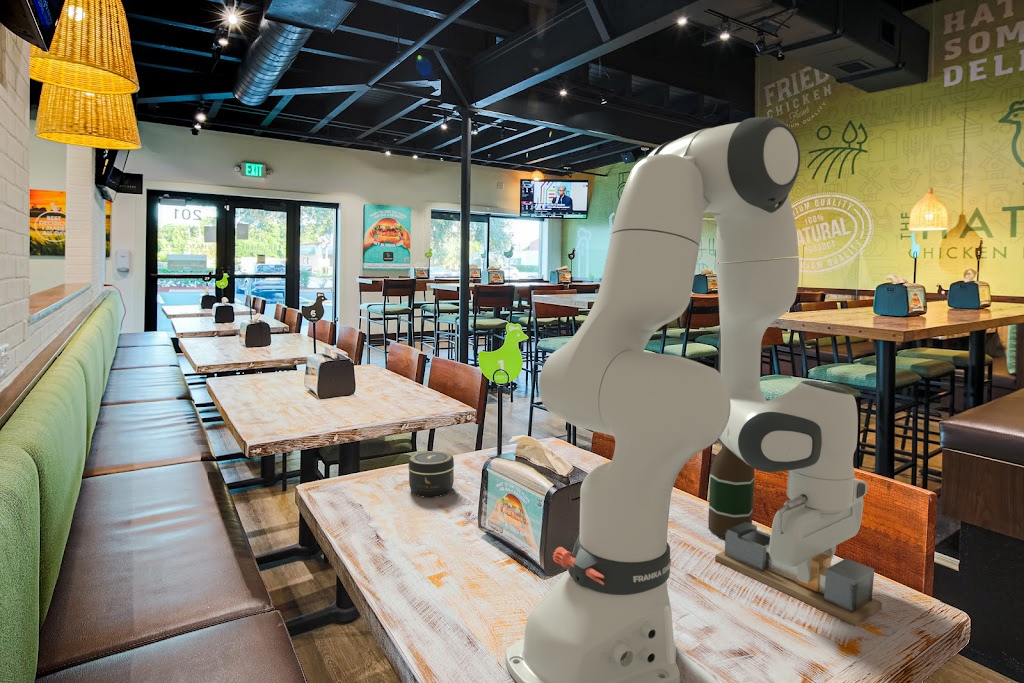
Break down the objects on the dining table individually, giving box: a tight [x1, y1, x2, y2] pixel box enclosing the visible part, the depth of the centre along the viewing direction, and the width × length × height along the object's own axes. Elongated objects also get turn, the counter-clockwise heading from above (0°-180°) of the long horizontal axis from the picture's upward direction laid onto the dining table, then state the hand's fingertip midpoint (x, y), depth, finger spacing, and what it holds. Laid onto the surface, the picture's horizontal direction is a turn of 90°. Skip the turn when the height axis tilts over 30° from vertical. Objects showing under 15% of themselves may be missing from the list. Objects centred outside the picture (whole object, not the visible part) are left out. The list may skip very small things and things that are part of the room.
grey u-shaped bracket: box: [724, 522, 771, 572], centre depth 101 cm, size 5×7×5 cm
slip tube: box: [765, 544, 832, 594], centre depth 93 cm, size 3×14×5 cm, turn 35°
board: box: [714, 550, 883, 626], centre depth 95 cm, size 8×23×1 cm, turn 35°
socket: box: [824, 557, 875, 613], centre depth 88 cm, size 6×4×5 cm
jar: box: [407, 450, 455, 498], centre depth 134 cm, size 10×10×8 cm
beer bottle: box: [707, 445, 755, 539], centre depth 112 cm, size 8×8×24 cm
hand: (813, 576), depth 92 cm, fingers closed on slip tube, 3 cm apart
